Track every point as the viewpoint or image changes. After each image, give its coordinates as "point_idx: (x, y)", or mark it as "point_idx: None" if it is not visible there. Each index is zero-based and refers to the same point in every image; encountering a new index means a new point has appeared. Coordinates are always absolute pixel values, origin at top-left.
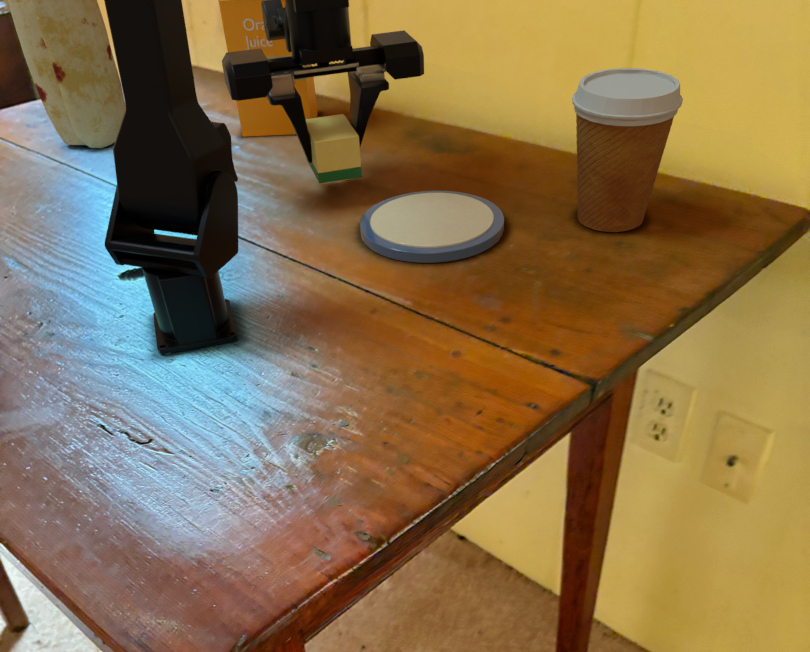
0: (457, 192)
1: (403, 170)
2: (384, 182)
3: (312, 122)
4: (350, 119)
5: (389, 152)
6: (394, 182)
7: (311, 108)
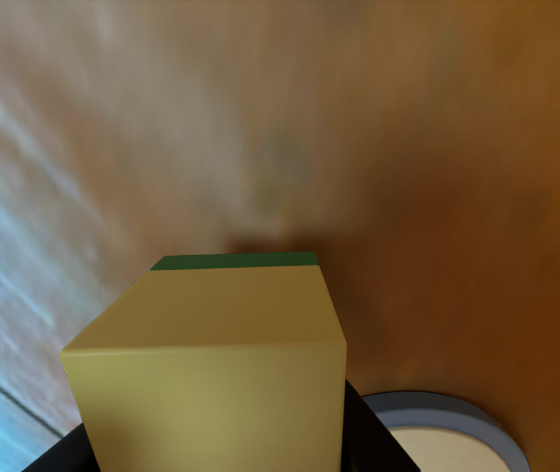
0: (500, 436)
1: (464, 218)
2: (385, 277)
3: (132, 415)
4: (354, 466)
5: (494, 42)
6: (409, 285)
7: None
